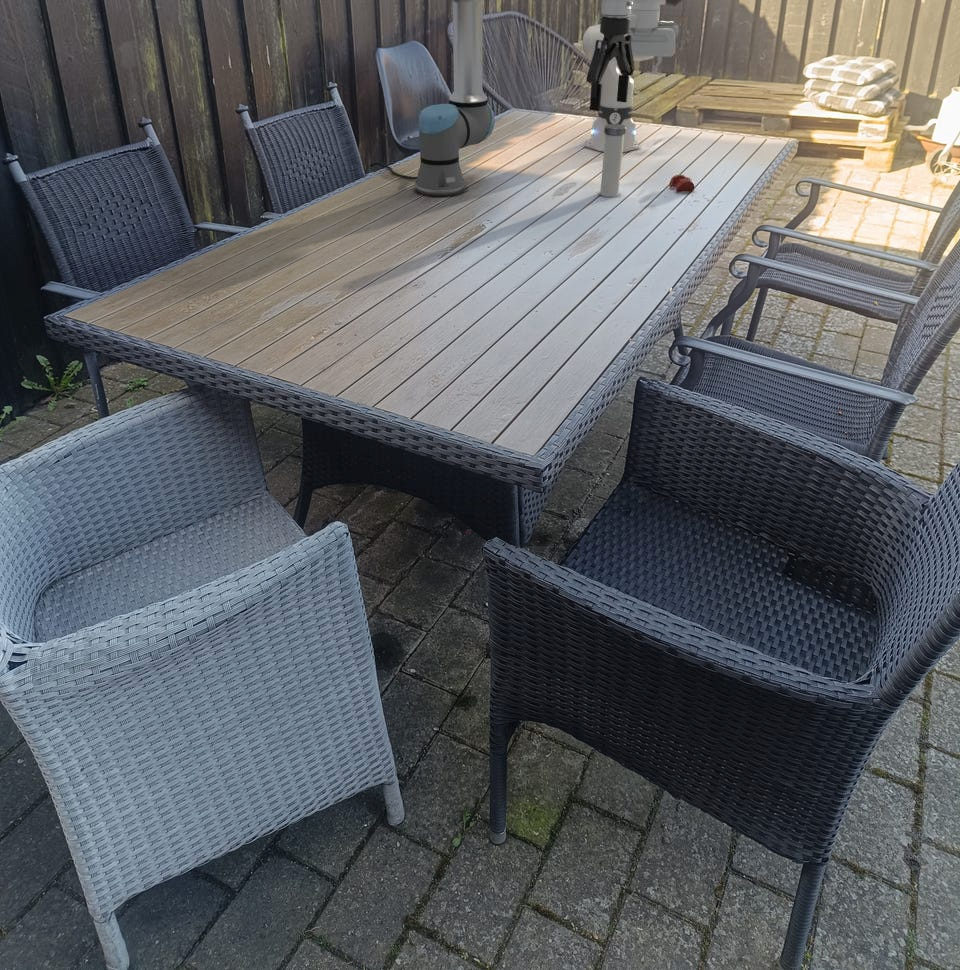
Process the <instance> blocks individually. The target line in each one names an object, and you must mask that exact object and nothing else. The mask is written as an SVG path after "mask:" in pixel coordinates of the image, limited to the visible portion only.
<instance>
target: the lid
mask: <svg viewBox="0 0 960 970" xmlns="http://www.w3.org/2000/svg"><path fill="white" fill-rule="evenodd" d="M604 133H605V134H608V135H623V134H625V133H626V126H624V125H620V124H608V125H605V128H604Z"/></svg>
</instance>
